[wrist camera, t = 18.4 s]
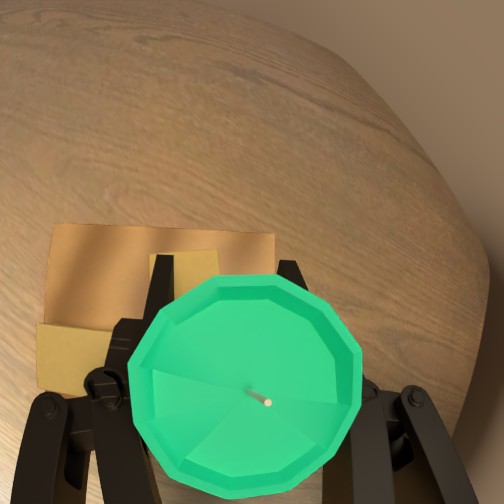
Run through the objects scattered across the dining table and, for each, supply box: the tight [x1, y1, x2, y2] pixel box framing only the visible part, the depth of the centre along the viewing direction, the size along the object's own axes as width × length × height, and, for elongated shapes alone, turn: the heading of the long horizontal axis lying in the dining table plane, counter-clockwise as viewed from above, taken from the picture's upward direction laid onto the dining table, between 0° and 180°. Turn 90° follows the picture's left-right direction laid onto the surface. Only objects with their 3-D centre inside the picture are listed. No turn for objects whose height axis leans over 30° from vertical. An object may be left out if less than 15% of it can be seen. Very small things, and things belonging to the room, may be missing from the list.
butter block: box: [36, 323, 113, 397], centre depth 16 cm, size 7×4×3 cm, turn 90°
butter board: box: [44, 223, 275, 399], centre depth 19 cm, size 16×14×2 cm
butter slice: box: [148, 248, 221, 300], centre depth 18 cm, size 4×4×3 cm
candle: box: [128, 274, 362, 500], centre depth 11 cm, size 6×6×12 cm
